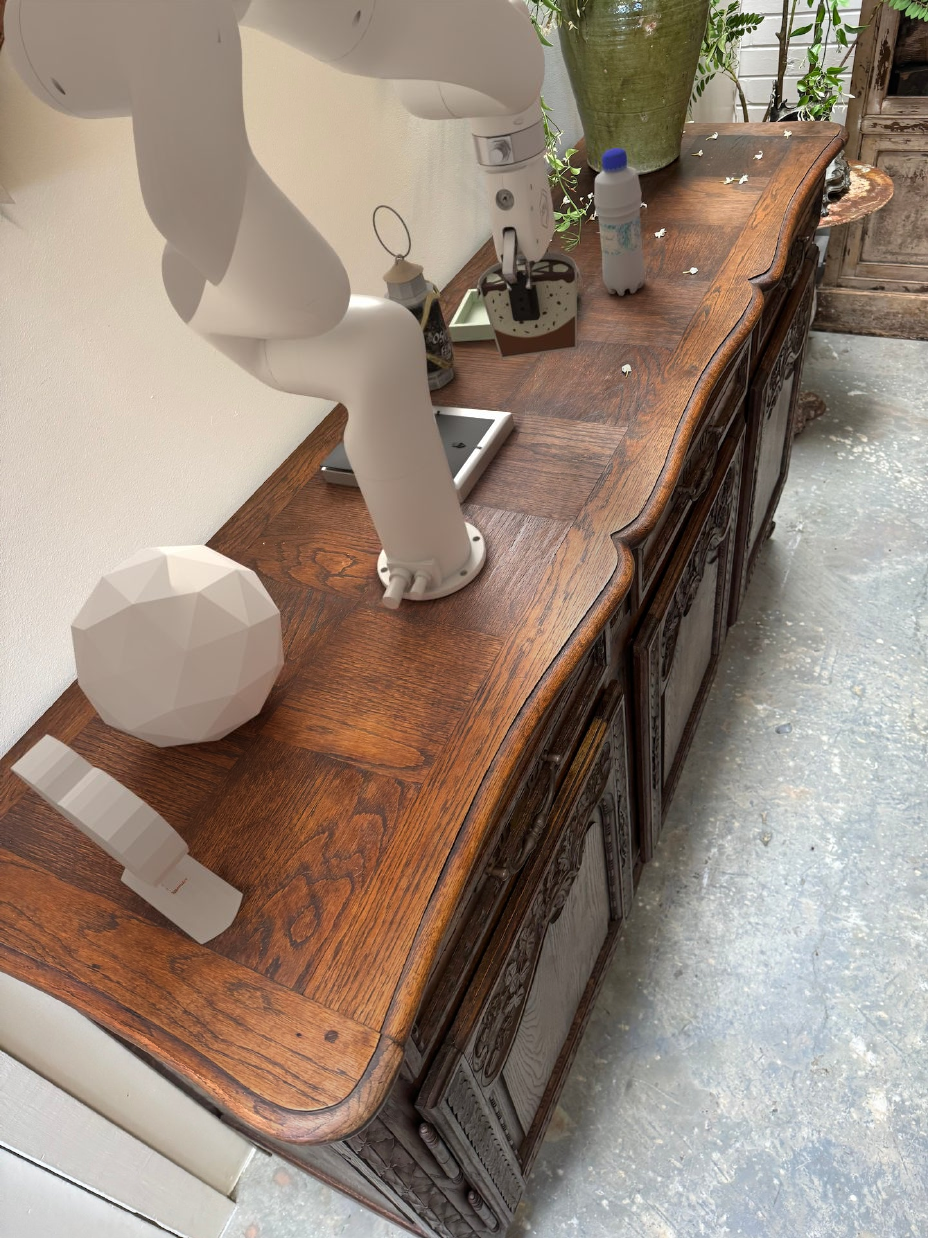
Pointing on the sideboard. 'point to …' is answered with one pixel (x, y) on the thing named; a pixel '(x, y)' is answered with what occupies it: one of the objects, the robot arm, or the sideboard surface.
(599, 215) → the bottle
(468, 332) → the tray
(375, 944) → the sideboard surface
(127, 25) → the robot arm
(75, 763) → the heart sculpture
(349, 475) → the picture frame
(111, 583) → the ball
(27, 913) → the sideboard surface
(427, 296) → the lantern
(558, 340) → the food container
